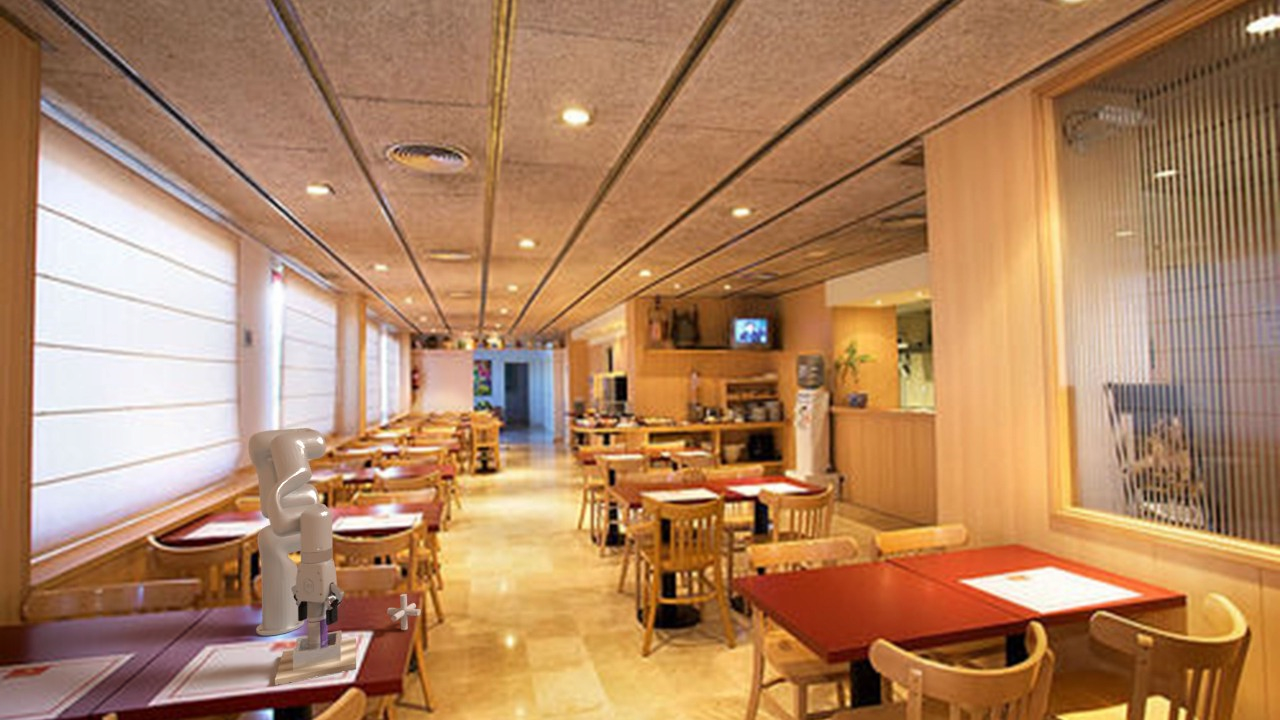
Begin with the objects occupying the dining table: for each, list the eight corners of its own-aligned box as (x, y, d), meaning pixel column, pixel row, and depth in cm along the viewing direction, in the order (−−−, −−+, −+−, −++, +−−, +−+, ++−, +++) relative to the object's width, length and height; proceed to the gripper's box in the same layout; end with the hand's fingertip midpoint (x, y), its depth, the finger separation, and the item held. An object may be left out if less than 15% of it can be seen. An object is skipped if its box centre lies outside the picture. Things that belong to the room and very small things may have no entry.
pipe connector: (409, 636, 178) (409, 601, 178) (378, 635, 180) (378, 600, 180) (428, 623, 188) (427, 589, 188) (398, 621, 190) (398, 588, 190)
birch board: (283, 656, 167) (283, 651, 167) (356, 643, 175) (356, 637, 175) (275, 685, 151) (274, 679, 151) (356, 669, 158) (355, 663, 158)
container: (323, 651, 166) (322, 595, 166) (331, 656, 163) (329, 598, 164) (304, 657, 162) (303, 600, 163) (312, 662, 159) (311, 604, 160)
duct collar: (297, 653, 165) (296, 638, 166) (341, 645, 170) (341, 630, 170) (293, 670, 156) (292, 654, 156) (340, 660, 160) (340, 645, 160)
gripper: (280, 557, 163) (281, 623, 163) (330, 562, 157) (331, 630, 157) (304, 550, 170) (305, 612, 170) (353, 554, 164) (354, 619, 164)
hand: (317, 621), depth 163 cm, fingers open, 9 cm apart
